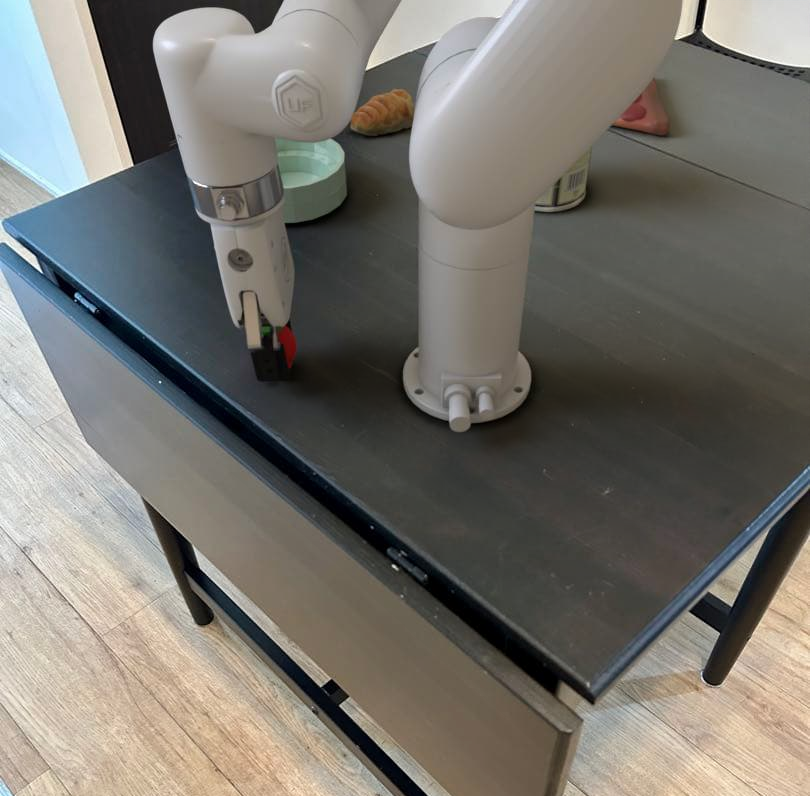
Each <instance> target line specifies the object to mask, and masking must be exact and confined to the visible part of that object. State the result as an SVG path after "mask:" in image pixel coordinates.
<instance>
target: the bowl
mask: <svg viewBox="0 0 810 796" xmlns="http://www.w3.org/2000/svg"><path fill="white" fill-rule="evenodd" d="M275 142H276V148H277V154H278V160H279V165H280V171H281V176H282V182H283V187H284V193H285V201H284V204H283V205H282V207H281V211H282V215H283V219H284V224H296V223H301V222H306V221H307V222H308V221H313V220H315V219H317V218H321V217H323V216H326V215H327V214H330V213H331V212H332V211H334V210H335V209H337V208H339V207H340V206H341V205H342V203H343V202H344V200H345V199H346V197H347V196H348V179H347V165H346V163H347V162H346V153H345V151H344V149H343V147H342V146H341V144H340V143H338V142H337V141H335V140H334V139H333V138H331V139H328V140H326V141H321V142H315V143H304V142H296V141H290V140H284V139H279V138H275Z"/></svg>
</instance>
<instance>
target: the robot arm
mask: <svg viewBox="0 0 810 796" xmlns="http://www.w3.org/2000/svg"><path fill="white" fill-rule="evenodd" d="M401 2H402V0H283V2H282V3H281V5H280V7H279V9H278V11H277V13H276V14H275V17H274V19H273V21H272V23H271V24H270V26H268V27H267V28H265V29H263V30H262V31H260V32H257V33H256V32H255V30H254V27H253V25H252V24H251V22H250V21H249V19H247V18H246V16H244V15H243V14H242V13H240V12H238V11H236V10H233V9H230V8H229V9H228V8H224V7H213V6H212V7H198V8H193V9H192V8H191V9H188V10H184V11H181V12H179V13H176V14H174V15H172V16H170V17H168V18H166V19H164V20H163V21H162V22H161V23H160V24H159V26H158V27H157V29H156V30H155V32H154V35H153V39H152V51H153V55H154V60H155V64H156V68H157V71H158V75H159V79H160V81H161V82H160V84H161V86H162V90H163V93H164V98H165V101H166V104H167V109H168V112H169V117H170V120H171V123H172V127H173V131H174V135H175V139H176V142H177V145H178V150H179V153H180V156H181V161H182V164H183V168H184V171H185V173H186V174H185V176H186V179H187V183H188V187H189V190H190V193H191V197H192V201H193V204H194V208H195V212H196V214H197V216H198V217H199V218H200V219H201V220H202V221H204V222H206V223H208V224H209V225H210V230H211V236H212V240H213V249H214V251H215V256H216V261H217V265H218V269H219V274H220V279H221V282H222V287H223V291H224V296H225V299H226V303H227V307H228V311H229V314H230V317H231V320H232V322H233V325H234V326H235V327H236V328H238V329H239V330H243V327H244V329H245V334H246V345H247V349H248V351H249V353H250V358H251V361H252V365H253V369H254V373H255V377H256V380H257V381H258V382H261V383H264V382H265V383H266V382H281V381H282V382H284V381H285V382H286V381H289V380H290V378H291V372H290V369H289V366H288V362H287V357H286V352H285V347H284V344H280V339H279V333H278V327H277V326H281V327H284V326H287V327H288V328H289V329H290V330H291V331H292V332H293V328H292V323H291V319H290V317H291V310H292V303H293V295H294V286H295V273H296V272H295V264H294V259H293V254H292V250H291V247H290V242H289V238H288V237H289V236H288V232H287V228H286V225H285V224H286V223H284V219H283V215H282V211H281V207H282V205H283V204H284V201H285V193H284V187H283V182H282V176H281V171H280V165H279V160H278V154H277V148H276V142H275V138H279V139H284V140H290V141H296V142H304V143H315V142H321V141H326V140H328V139H333V138H335V137H336V136H338V135H339V134H340V133H342V132H343V131H344V130H345V128H346V127H347V126H348V125H349V123H351V118H352V116H353V114H354V113H355V111H356V109H357V105H358V102H359V97H360V94H361V90H362V86H363V82H364V79H365V78H364V77H365V74H366V71H367V66H368V63H369V61H370V58H371V56H372V53H373V51H374V49H375V47H376V46H377V44H378V42H379V40H380V38H381V36H382V34H384V31H385V30H386V28H387V26H388V24H389V23H390V21H391V19H392V18H393V16H394V14H395V13H396V11H397V9H398V7H399V6H400V4H401ZM682 12H683V0H512V2H511V3H510V4H509V5H508V7H507V8H506V10H505V12H503V14H502V15H501V16H500V18H498V17H493V16H478V17H473V18H469V19H466V20H464V21H461V22H459V23H458V24H456V25H454V26H453V27H451V28H450V29H449V30H448V31H446V32H445V33H444V34H442V36H441V37H440V38H439V40H437V42H436V43H435V45H434V46H433V48H432V49H431V51H430V52H429V54H428V55H427V58H426V60H425V62H424V64H423V67H422V70H421V73H420V76H419V81H418V85H417V91H416V97H415V103H414V105H415V108H414V119H413V125H412V126H411V130H410V131H411V132H410V139H409V147H408V162H409V163H408V164H409V171H410V178H411V180H412V184H413V187H414V189H415V192H416V194H417V196H418V238H417V245H418V246H417V261H418V262H417V264H418V265H417V267H418V268H417V269H418V270H417V271H418V272H417V274H418V275H417V276H418V277H417V280H418V281H417V283H418V284H417V285H418V287H417V288H418V289H417V296H418V299H417V301H418V302H417V304H418V305H417V307H418V308H417V309H418V310H417V311H418V312H417V314H418V316H417V317H418V322H417V323H418V325H417V326H418V331H417V332H418V336H417V337H418V346H417V347H416V348H415V349H413V351H412V352H410V354H409V355H408V356H407V359H406V360H405V362H404V365H403V369H402V382H403V388H404V391H405V393H406V395H407V397H408V399H410V401H411V402H412V403H413V404H414V406H416V407H417V408H419V410H421V411H422V412H424V413H426V414H428V415H429V416H432V417H433V418H434V417H435V418H437V419H439V420H443V421H446V422H447V421H448V423H449V428H450V429H451V431H452V432H455V433H464V432H466V431H468V430H469V429H470V427H471V424H476V423H477V424H479V423H485V422H489V421H494V420H497V419H500V418H503V417H504V416H507V415H508V414H511V413H512V412H513V411H515V410H516V409H517V408H519V407H520V406H521V405H522V404H523V403H524V401H525V400H526V399H527V396H528V395H529V392H530V389H531V383H532V370H531V367H530V363H529V362H528V360H527V358H526V357H525V356H524V355H523V353H521V352H520V351H519V348H520V339H521V331H522V323H523V322H522V321H523V314H524V313H523V312H524V304H525V294H526V287H527V277H528V269H529V261H530V252H531V245H532V238H533V228H534V220H535V212H536V211H535V202H536V201H537V200H538V199H539V198H540V197H541V196H543V195H544V194H545V193H546V192H547V191H548V190H549V189H550V188H551V187H552V186H553V185H554V184H555V183H556V182H557V181H558V180H559V179H560V178H561V177H562V176H563V175H564V174H565V173H566V172H567V170H568V169H569V168H570V167H571V166H572V165H573V164H574V163H575V162H576V161H577V160H578V159H579V158H580V157H581V156H582V155H583V154H584V153H585V152H586V151H587V150H588V149H589V148H590V147H591V146H592V147H593V145H594V144H595V143H596V142H597V141H598V140H599V139H600V138H601V137H602V136H603V135H604V134H605V133H606V132H607V131H608V130H609V129H610V128H611V127H612V124H613V123H614V122H615V121H616V120H617V119H618V118H619V117H620V116H621V115H622V114H623V113H624V112H625V111H626V110H627V109H628V108H629V106H630V105H631V104H632V103H633V102H634V101H635V100H636V99H637V98H638V97H639V95H640V94H641V93H642V92H643V91H644V90H645V88H646V87H647V86H648V84H649V83H650V82H651V81H652V79H653V78H654V79H655V76H656V75H657V73H658V72H659V70H660V68H661V67H662V66H663V63H664V62H665V60H666V58H667V56H668V54H669V53H670V51H671V48H672V46H673V45H674V44H673V43H674V41H675V38H676V36H677V32H678V29H679V26H680V22H681V18H682ZM262 327H270V333H271V337H270V336H269V335H263V332H262Z"/></svg>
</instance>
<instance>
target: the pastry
mask: <svg viewBox="0 0 810 796" xmlns="http://www.w3.org/2000/svg"><path fill="white" fill-rule="evenodd" d="M414 108H415V103H414V101H413V97H412V96H411V94H410V93H408V91H406V90H405V89H403V88H400V89H397V88H393V89H392V90H391V91H390V92H386V93H385V92H384V93H382V94H378V95H374V96H372V97H371V98H370V99H369V100H368V101H367V102H366V103H364V104H363V105H362V106H360V107H359V108H358V109H356V110H355V112H354V114H353V116H352V118H351V120H350V130H353V132H355V133H358V134H360V135H364V136H369V137H372V136H373V137H377V136H378V135H387V134H391V133H396V132H400V131H402V130H403V129H409V128H412V125H413V119H414Z"/></svg>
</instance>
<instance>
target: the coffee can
mask: <svg viewBox="0 0 810 796" xmlns="http://www.w3.org/2000/svg"><path fill="white" fill-rule="evenodd" d="M592 151H593V145H592V146H591V147H590V148H589V149H588V150H587V151H586V152H585V153H584V154H583V155H582V156H581V157H580V158H579V159H578V160H577V161H576V162H575V163H574V164H573V165H572V166H571V167H570V168H569V169H568V170H567V172H566V173H565V174H564V175H563V176H562V177H561V178H560V179H559V180H558V181H557V182H556V183H555V184H554V185H553V186H552V187H551V188H550V189H549V190H548V191H547V192H546V193H545V194H544V195H543V196H541V197H540V198H539V199H538V200H537V201H536V202H535V211H534V212H540V213H555V212H562V211H563V212H564V211H567V210H569V209H573V208H574V207H576V206H578V205H579V204H580V203H582V202H583V200H584V199H585V197H586V194H587V190H586V188H587V183H588V176H589V172H590V171H589V170H590V163H591V158H592Z"/></svg>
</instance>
